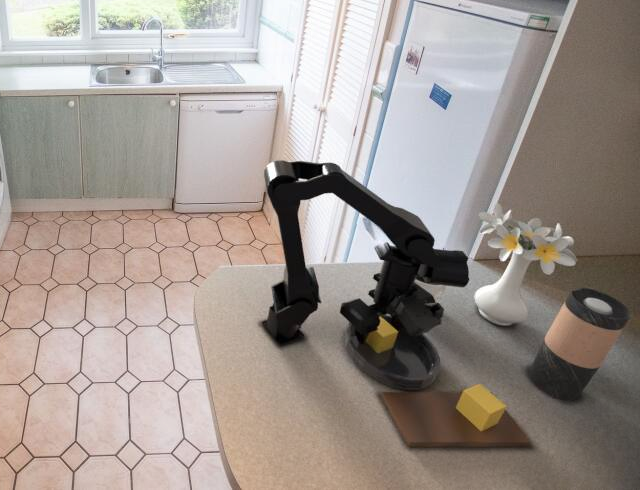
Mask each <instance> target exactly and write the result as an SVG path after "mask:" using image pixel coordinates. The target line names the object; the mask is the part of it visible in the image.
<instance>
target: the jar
mask: <svg viewBox="0 0 640 490" xmlns="http://www.w3.org/2000/svg"><path fill="white" fill-rule="evenodd" d="M415 283H416V284H418V285H419V286H421V287H422V288H423V289H425V290H426V291H427V292H429V293H430V294H431V295H433V297H434V299H435V302H436V303H439V304H440V303H441V301H442V298H443V295H444V292H445V290H446V287H447V286H445V285H437V284H428V283H426V282H425V281H424V279H423V277H420V276H419V274H417V277H416V280H415Z"/></svg>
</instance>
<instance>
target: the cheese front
mask: <svg viewBox="0 0 640 490" xmlns="http://www.w3.org/2000/svg"><path fill="white" fill-rule="evenodd" d="M462 392H463V393H462V395H461V397H460V400H459V402H458V404H457V406H456V409H457V410H458V411H459V412H461V413H462V414H463V415H464V416H465V417H466V418H467V419H468V420H469V421H470V422H471V423H472V424H474V425H475V426H476V427H477V428H478V429H479V430H480V431H483V430H486V429H488V428H490V427H492V426H494V425H496V424H498V422H499V420H500V418H501V416H502V414H503V412H504V411H505V410H507V409H506V408H507V405H506V404H505V403H504V402H502V401H501V400H500V399H499V398H498V397H496V396H495V395H494V394H493V393H492V394H491V393H490V392H491V391H489V390H488V389H487V388H486V387H484V386H483V385H482V384H481V383H478V384H476V385H473V386H471V387H469V388H466V389H464V390H463V391H462Z"/></svg>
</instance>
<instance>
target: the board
mask: <svg viewBox="0 0 640 490" xmlns="http://www.w3.org/2000/svg"><path fill="white" fill-rule="evenodd" d="M489 392H490V393H491V394H493V393H492V391H489ZM462 393H463V391H421V392H420V391H391V392H390V391H383V392H381V394H380V400H381V401H382V403H383V404H384V406H385V408H386V410H387V411H388V413H389V415H390V417H391V419H392V421H393V423H394V424H395V426H396V428H397V429H398V431H399V433H400V435H401V437H402V438H403V441H404V442H405V444H406V446H407V447H408V448H409V447H410V448H412V447H413V448H414V447H415V448H416V447H417V448H419V447H420V448H424V447H425V448H426V447H427V448H430V447H432V448H435V447H437V448H442V447H444V448H445V447H448V448H450V447H461V448H463V447H467V448H469V447H470V448H471V447H476V448H478V447H482V448H483V447H486V448H487V447H491V448H492V447H496V448H497V447H506V448H507V447H530V445H531V443H532V441H531V440H530V438H529V437H528V436H527V435H526V433H525V432H524V431H523V429H522V428H521V427H520V426H519V424H517V422H516V421H515V420H514V419H513V417H512V416H511V414H510V413H509V412H508V411H507V409H505V411H504V412H503V414H502V416H501V418H500V420H499V422H498V424H496V425H494V426H492V427H490V428H488V429H486V430H483V431H480V430H479V429H478V428H477V427H476V426H475V425H474V424H472V423H471V422H470V421H469V420H468V419H467V418H466V417H465V416H464V415H463V414H462V413H461V412H459V411H458V410H457V409H456V406H457V404H458V402H459V400H460V397H461V395H462Z"/></svg>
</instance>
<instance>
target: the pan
mask: <svg viewBox="0 0 640 490" xmlns="http://www.w3.org/2000/svg"><path fill="white" fill-rule="evenodd" d="M381 317H382V318H383V319H384V320H385V321H387V322H388V323H389V324H390V325H391V326H392V316H390V315H389V314H387V315H384V316H381ZM343 341H344V346H345V350H346V352H347V354H348V356H349V358H350V359H351V361H352V362H353V363H354V364H355V365H356V366H357V367H358V368H359V369H360V370H361V371H362V372H363V373H364V374H366V375H367V376H368V377H370V378H371V379H373V380H375V381H377V382H378V383H380V384H382V385H384V386H387V387H389V388H393V389H397V390H404V391H420V390H423V389H425V388H428V387H430V386H431V385H432V383H434V381H435V380H436V378H437V376H438V374H439V372H440V368H441V358H440V355H439V352H438V350H437V347H436V346H435V345H434V344H433V343H432V341H431V340H430V339H429V338H428V336H427V335H425V333H423V334H421V335H418V336H416V337H414V336H411V335H410V334H409V333H408V332H407V329H406V328H405V327H404V326H403V327H402V328H401V329H400V330H399V331H398V334H397V337H396V340H395V343H394V346H393V348H391V349H388V350H385V351H383V352H380V353H377V352H376V351H375V350H374V349H373V348H372V347H371V346H370V345H369V344H368V343H367V342H364V344H363V345H361V344H360V343H359V342H358V340H357V337H356V334H355V331H354V328H353V325H352V324H351V323H350V322H349V321H348V325H347V327H346V331H345V334H344V338H343Z"/></svg>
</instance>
